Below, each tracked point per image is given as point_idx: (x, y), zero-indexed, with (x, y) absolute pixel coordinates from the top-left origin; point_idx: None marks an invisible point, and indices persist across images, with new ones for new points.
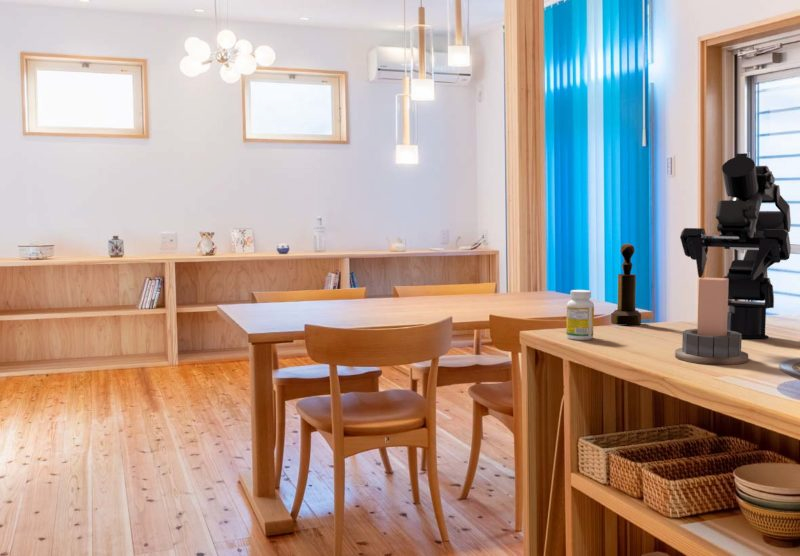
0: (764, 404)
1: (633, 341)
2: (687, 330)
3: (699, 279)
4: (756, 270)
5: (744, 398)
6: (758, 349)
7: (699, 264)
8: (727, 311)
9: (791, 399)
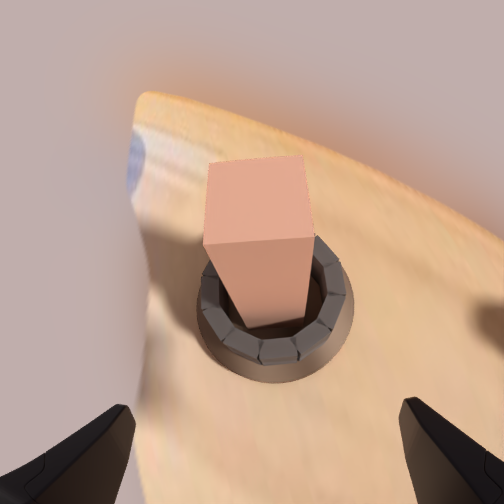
0: (158, 99)
1: (485, 396)
2: (339, 287)
3: (299, 155)
4: (91, 423)
5: (176, 104)
6: (212, 482)
7: (442, 430)
8: (230, 296)
9: (134, 125)
